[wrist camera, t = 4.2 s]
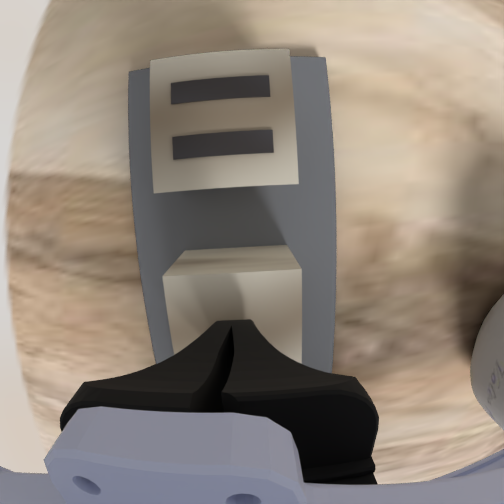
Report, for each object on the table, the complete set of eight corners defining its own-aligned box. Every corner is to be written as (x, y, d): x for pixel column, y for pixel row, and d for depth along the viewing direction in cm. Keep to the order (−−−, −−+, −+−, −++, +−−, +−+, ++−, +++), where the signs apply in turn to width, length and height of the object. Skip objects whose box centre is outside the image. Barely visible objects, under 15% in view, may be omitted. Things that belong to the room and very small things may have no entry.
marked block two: (284, 183, 15) (299, 184, 11) (179, 189, 15) (152, 193, 11) (278, 83, 14) (289, 47, 10) (175, 91, 14) (149, 59, 10)
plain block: (288, 337, 17) (301, 385, 13) (195, 341, 17) (180, 389, 13) (286, 245, 16) (301, 268, 12) (185, 250, 16) (162, 276, 12)
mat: (321, 442, 20) (323, 450, 19) (181, 448, 20) (179, 456, 19) (322, 62, 15) (325, 57, 14) (133, 76, 15) (128, 71, 14)
